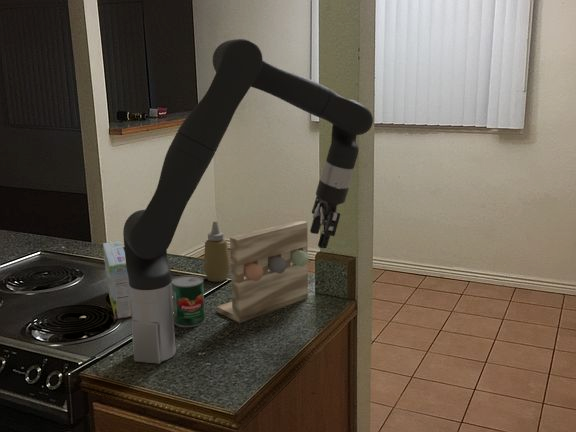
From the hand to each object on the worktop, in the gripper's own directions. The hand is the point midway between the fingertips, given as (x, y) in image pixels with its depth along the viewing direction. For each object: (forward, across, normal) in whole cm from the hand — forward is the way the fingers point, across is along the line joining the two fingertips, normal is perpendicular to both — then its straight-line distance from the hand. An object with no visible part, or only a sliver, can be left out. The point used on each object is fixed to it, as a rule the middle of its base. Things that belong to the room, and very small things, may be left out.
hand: (317, 240), depth 161 cm
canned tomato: (+28, +1, -28) cm, 39 cm away
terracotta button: (+13, +2, -15) cm, 19 cm away
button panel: (+24, -5, -8) cm, 25 cm away
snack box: (+34, -15, -45) cm, 58 cm away
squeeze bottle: (+30, -28, -17) cm, 45 cm away
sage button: (+11, -7, -1) cm, 13 cm away
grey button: (+12, -3, -8) cm, 14 cm away
